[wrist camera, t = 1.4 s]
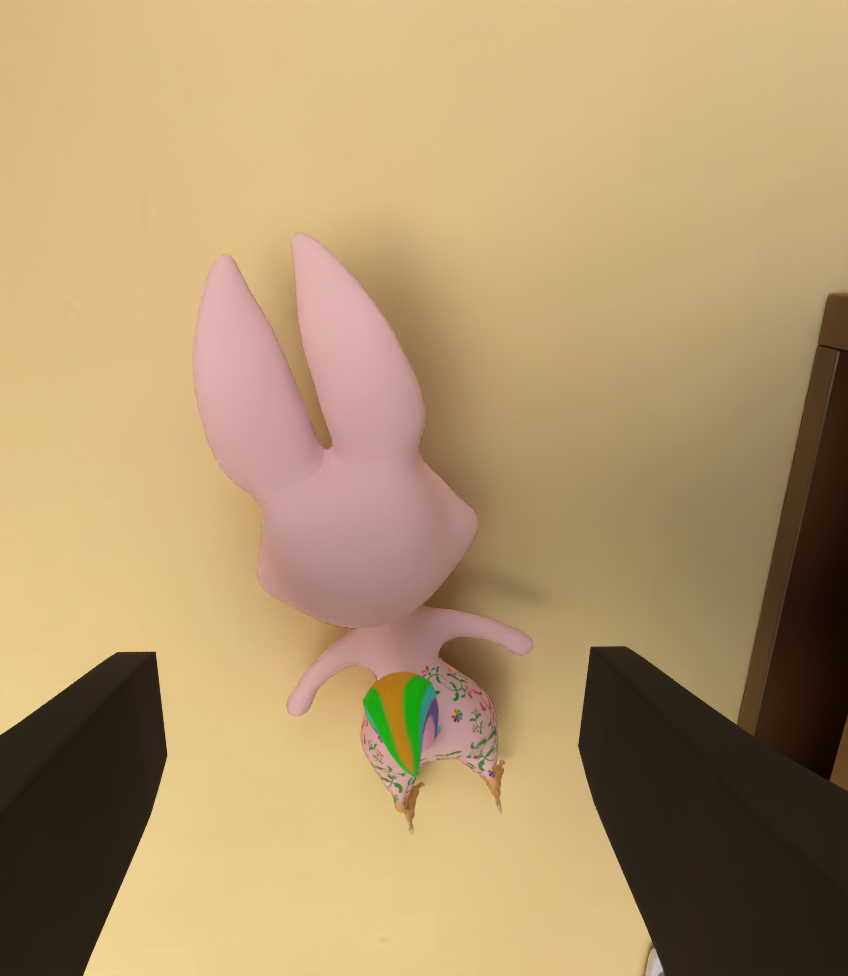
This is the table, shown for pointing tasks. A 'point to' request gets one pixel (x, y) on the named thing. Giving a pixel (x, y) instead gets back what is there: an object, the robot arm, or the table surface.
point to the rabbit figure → (350, 510)
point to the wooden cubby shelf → (810, 583)
